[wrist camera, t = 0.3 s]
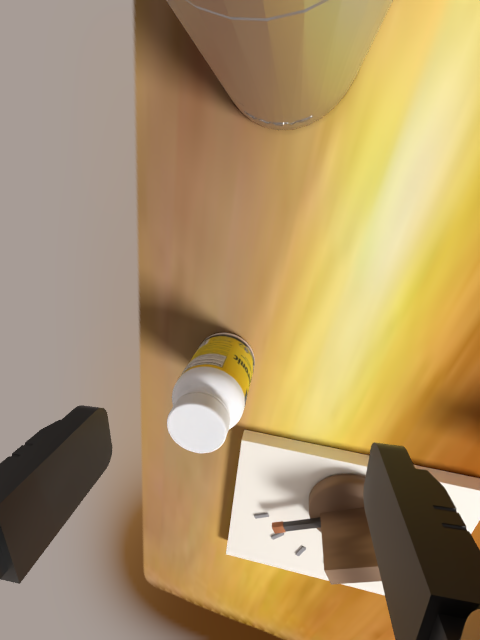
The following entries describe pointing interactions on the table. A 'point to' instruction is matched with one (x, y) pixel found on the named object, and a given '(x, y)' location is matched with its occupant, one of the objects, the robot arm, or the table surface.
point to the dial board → (306, 501)
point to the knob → (340, 529)
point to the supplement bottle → (211, 393)
